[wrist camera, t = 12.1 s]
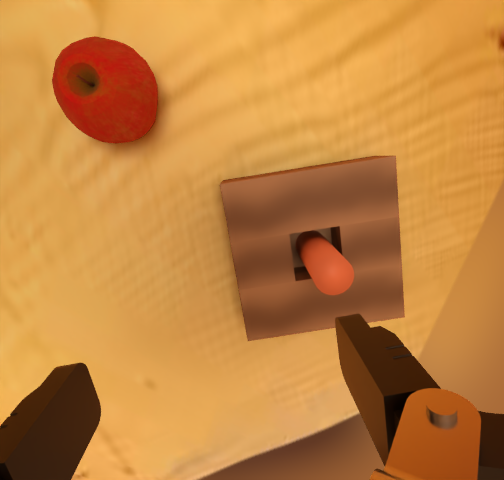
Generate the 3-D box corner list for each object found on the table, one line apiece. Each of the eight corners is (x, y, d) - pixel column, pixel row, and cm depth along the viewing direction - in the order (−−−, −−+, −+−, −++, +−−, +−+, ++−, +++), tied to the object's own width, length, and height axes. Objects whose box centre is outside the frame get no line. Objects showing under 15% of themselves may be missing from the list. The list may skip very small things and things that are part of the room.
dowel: (293, 232, 36) (311, 260, 27) (323, 227, 36) (352, 253, 26) (297, 260, 37) (315, 298, 27) (326, 256, 37) (355, 292, 27)
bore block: (223, 180, 36) (219, 184, 31) (375, 155, 36) (395, 155, 31) (247, 318, 40) (247, 341, 35) (384, 297, 39) (404, 317, 34)
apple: (177, 137, 35) (149, 129, 24) (98, 151, 35) (36, 150, 24) (158, 49, 33) (118, -1, 22) (74, 65, 33) (-4, 23, 23)
